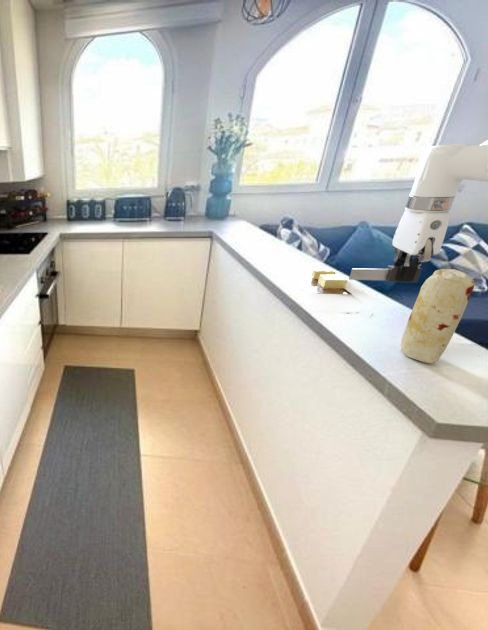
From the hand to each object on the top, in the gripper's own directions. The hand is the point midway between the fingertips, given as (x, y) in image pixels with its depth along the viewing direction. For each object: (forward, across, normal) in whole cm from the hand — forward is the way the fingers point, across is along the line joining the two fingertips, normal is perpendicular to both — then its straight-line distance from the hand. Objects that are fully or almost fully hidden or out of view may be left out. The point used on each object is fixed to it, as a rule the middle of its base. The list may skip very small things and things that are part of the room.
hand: (400, 278), depth 87 cm
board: (+13, +24, +6) cm, 28 cm away
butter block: (+11, +23, +4) cm, 26 cm away
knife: (+1, 0, +4) cm, 4 cm away
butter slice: (+11, +30, +4) cm, 33 cm away
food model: (+13, -17, +1) cm, 21 cm away
